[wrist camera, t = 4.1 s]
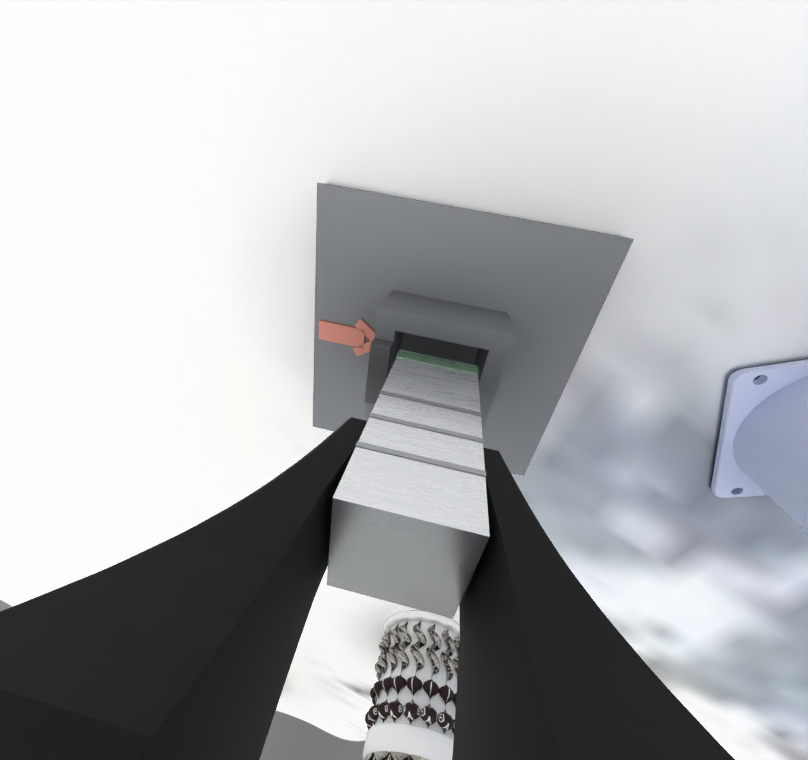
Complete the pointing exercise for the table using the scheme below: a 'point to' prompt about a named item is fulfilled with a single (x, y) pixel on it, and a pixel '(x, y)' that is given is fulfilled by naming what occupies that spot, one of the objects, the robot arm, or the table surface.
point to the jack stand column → (414, 490)
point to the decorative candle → (414, 689)
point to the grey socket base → (453, 306)
